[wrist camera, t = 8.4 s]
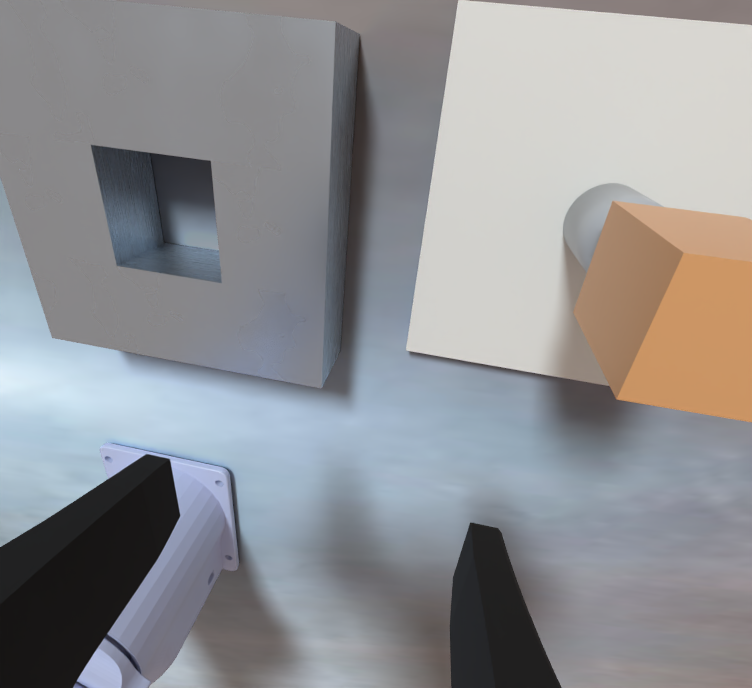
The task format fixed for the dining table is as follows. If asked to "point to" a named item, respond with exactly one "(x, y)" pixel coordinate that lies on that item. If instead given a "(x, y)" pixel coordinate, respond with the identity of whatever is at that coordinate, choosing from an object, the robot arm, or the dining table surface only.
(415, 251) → the dining table surface
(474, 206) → the mat
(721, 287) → the key
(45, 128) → the socket block
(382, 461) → the dining table surface
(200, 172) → the dining table surface
